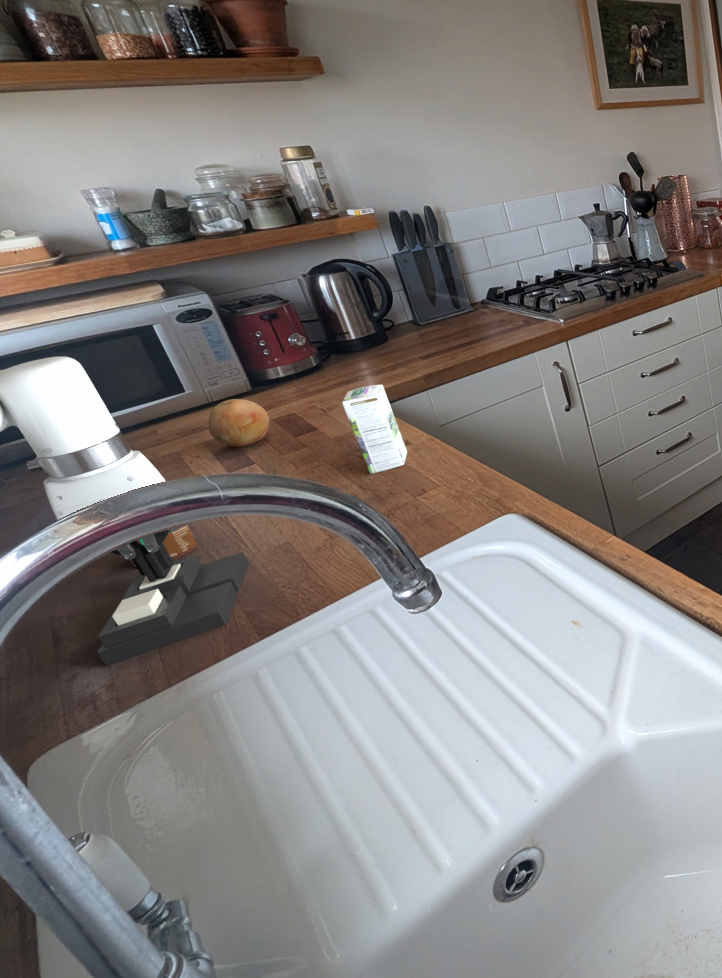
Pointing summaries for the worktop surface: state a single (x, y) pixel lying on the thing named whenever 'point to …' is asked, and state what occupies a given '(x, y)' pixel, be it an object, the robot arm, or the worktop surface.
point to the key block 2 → (167, 622)
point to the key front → (138, 607)
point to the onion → (238, 422)
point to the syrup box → (375, 428)
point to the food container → (178, 543)
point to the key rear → (170, 576)
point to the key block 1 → (198, 576)
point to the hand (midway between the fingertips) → (161, 574)
